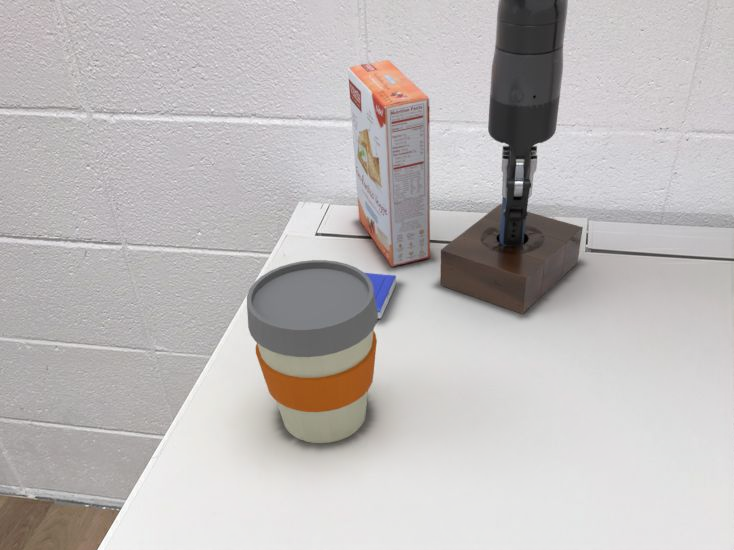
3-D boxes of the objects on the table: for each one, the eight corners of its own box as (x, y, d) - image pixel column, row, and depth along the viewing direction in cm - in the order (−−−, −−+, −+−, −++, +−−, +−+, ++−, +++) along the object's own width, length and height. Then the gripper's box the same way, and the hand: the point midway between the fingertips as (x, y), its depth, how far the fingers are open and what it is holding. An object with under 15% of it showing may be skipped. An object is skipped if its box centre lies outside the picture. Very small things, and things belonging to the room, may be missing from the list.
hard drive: (283, 299, 99) (380, 309, 97) (303, 265, 105) (396, 273, 102) (285, 310, 101) (380, 320, 98) (305, 275, 106) (396, 284, 103)
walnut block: (497, 238, 110) (500, 203, 106) (577, 263, 104) (583, 227, 100) (440, 285, 102) (440, 249, 99) (522, 314, 97) (526, 277, 93)
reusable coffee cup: (407, 412, 86) (404, 288, 75) (320, 473, 80) (304, 349, 69) (327, 365, 92) (314, 245, 81) (242, 418, 86) (216, 297, 76)
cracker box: (356, 222, 115) (345, 65, 100) (395, 213, 116) (391, 57, 101) (388, 269, 106) (382, 104, 91) (431, 259, 107) (432, 94, 92)
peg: (505, 257, 104) (510, 190, 97) (525, 263, 102) (532, 196, 96) (492, 267, 102) (497, 200, 96) (513, 274, 101) (519, 206, 94)
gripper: (562, 114, 82) (544, 267, 94) (558, 66, 91) (542, 210, 104) (488, 115, 83) (479, 265, 95) (492, 66, 92) (483, 209, 105)
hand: (512, 236), depth 99 cm, fingers closed on peg, 3 cm apart
